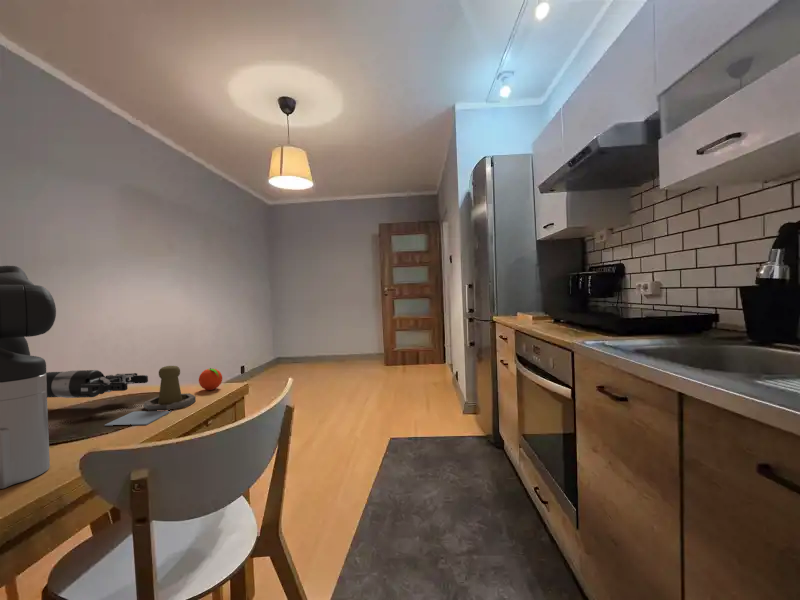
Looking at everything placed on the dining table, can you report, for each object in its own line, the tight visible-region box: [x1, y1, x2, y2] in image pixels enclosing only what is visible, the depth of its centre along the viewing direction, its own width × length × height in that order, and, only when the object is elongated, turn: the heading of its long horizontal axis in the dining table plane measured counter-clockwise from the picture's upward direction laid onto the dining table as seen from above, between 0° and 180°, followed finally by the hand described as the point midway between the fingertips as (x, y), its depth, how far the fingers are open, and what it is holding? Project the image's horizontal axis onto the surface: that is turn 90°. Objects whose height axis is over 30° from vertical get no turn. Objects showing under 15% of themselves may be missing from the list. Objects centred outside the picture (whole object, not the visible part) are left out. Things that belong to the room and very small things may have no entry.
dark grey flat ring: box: [143, 392, 197, 411], centre depth 106 cm, size 12×12×2 cm
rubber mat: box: [104, 410, 172, 427], centre depth 95 cm, size 10×10×1 cm
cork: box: [158, 365, 183, 404], centre depth 106 cm, size 6×6×11 cm
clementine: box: [198, 367, 223, 391], centre depth 122 cm, size 8×7×7 cm
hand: (137, 382), depth 106 cm, fingers open, 8 cm apart
